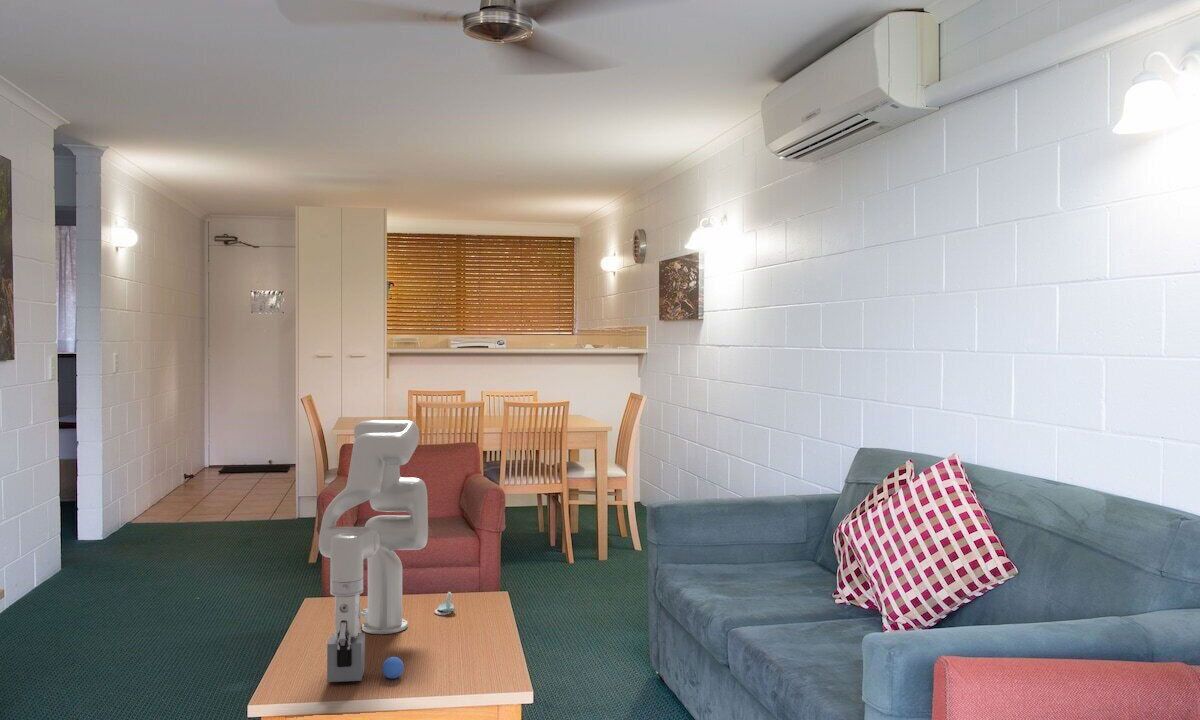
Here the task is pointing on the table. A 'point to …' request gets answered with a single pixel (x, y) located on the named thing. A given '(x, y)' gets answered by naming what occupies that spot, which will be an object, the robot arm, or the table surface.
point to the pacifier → (445, 606)
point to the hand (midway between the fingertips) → (346, 659)
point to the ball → (392, 667)
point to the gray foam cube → (358, 660)
